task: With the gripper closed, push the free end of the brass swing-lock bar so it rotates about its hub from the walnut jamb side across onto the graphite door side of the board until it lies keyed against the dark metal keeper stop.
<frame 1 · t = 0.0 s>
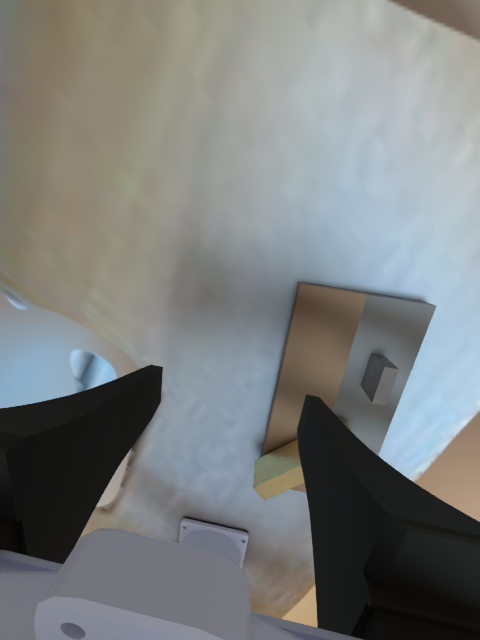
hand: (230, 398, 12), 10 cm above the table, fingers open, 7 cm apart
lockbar: (303, 459, 21), point 3 cm above the table, hinge at 135.0°
keeper stop: (371, 370, 20), resting on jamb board
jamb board: (330, 399, 22), on the table
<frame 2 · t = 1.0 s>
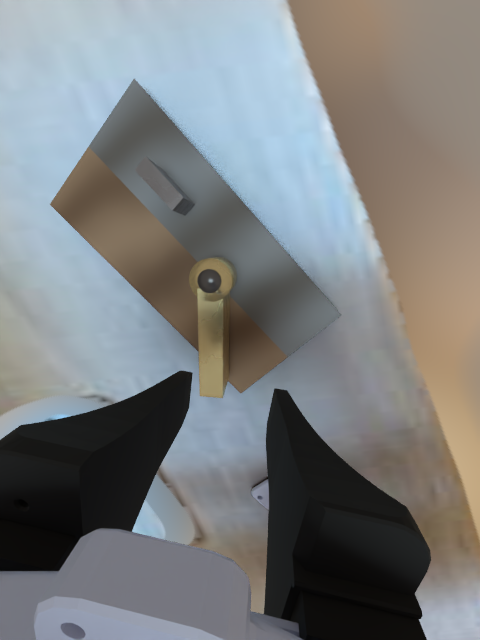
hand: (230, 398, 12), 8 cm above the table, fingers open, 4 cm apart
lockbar: (214, 327, 17), point 3 cm above the table, hinge at 135.0°
keeper stop: (174, 192, 16), resting on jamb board
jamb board: (199, 258, 19), on the table
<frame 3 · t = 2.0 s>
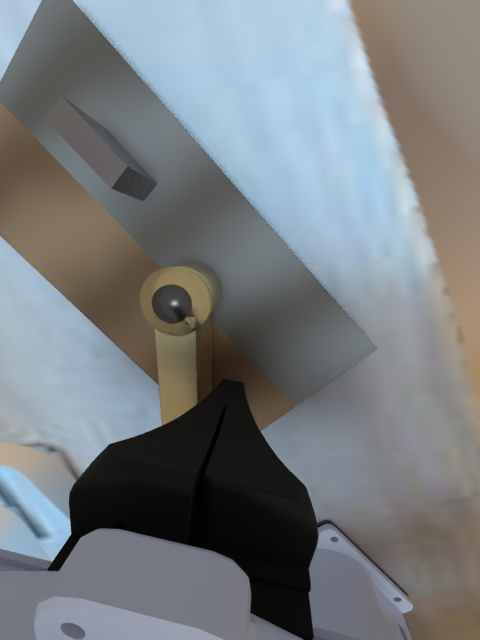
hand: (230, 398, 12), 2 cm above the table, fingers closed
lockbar: (187, 369, 11), point 3 cm above the table, hinge at 135.0°, touching gripper
keeper stop: (125, 166, 11), resting on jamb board
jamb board: (170, 265, 13), on the table
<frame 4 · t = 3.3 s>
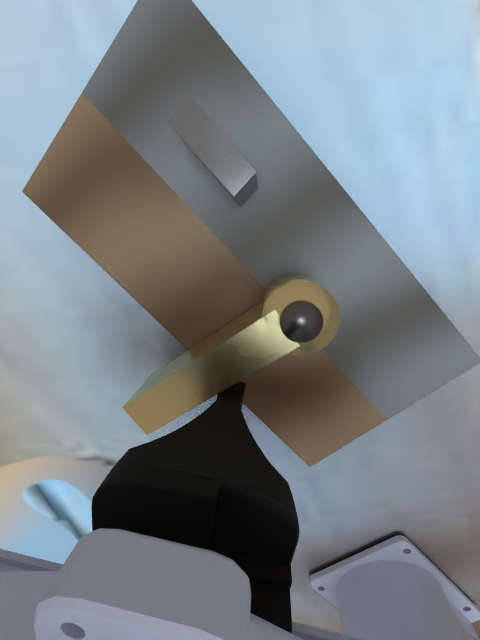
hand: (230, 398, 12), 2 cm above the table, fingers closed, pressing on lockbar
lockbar: (227, 353, 10), point 3 cm above the table, hinge at 81.3°, touching gripper
keeper stop: (224, 169, 10), resting on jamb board
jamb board: (254, 273, 12), on the table
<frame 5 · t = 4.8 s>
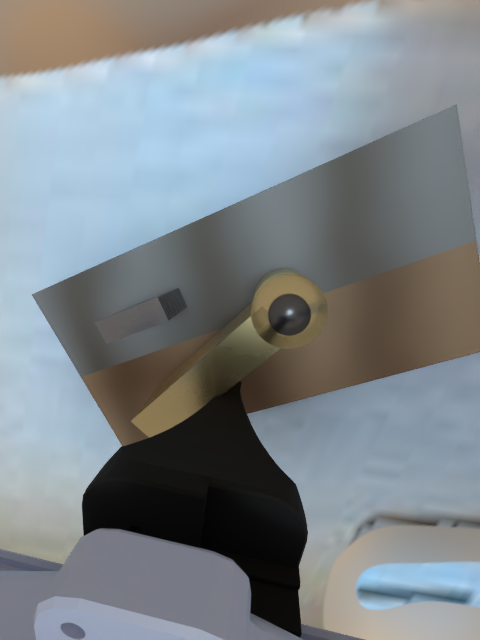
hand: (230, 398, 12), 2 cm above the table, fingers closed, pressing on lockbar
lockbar: (225, 356, 11), point 3 cm above the table, hinge at 22.0°, touching gripper
keeper stop: (156, 307, 12), resting on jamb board
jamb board: (248, 313, 13), on the table
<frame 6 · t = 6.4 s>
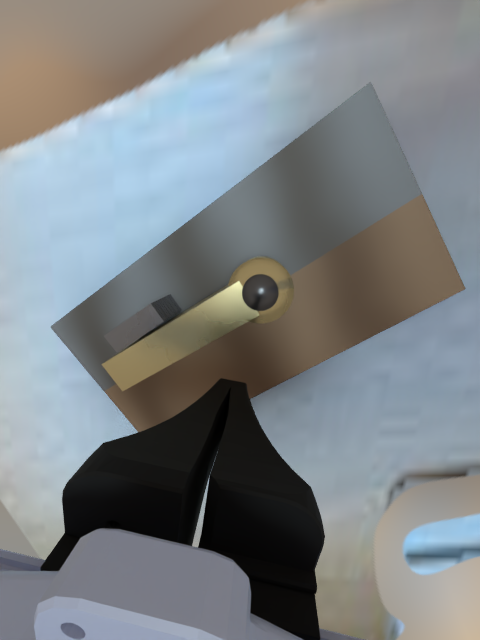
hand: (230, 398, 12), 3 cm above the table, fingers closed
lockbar: (199, 323, 12), point 3 cm above the table, hinge at -1.8°
keeper stop: (155, 315, 14), resting on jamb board
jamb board: (237, 305, 14), on the table
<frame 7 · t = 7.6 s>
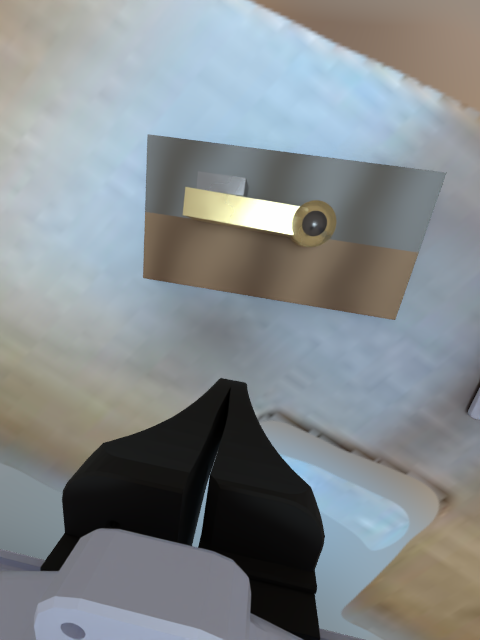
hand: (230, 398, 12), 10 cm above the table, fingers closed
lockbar: (259, 216, 16), point 3 cm above the table, hinge at -1.6°
keeper stop: (226, 192, 17), resting on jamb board
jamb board: (276, 232, 19), on the table
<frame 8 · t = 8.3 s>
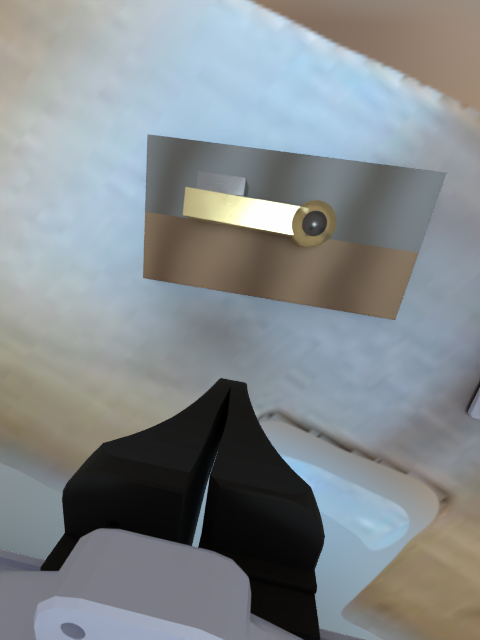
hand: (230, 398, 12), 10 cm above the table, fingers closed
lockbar: (259, 216, 16), point 3 cm above the table, hinge at -1.6°
keeper stop: (226, 192, 17), resting on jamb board
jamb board: (276, 232, 19), on the table
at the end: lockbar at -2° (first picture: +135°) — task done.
